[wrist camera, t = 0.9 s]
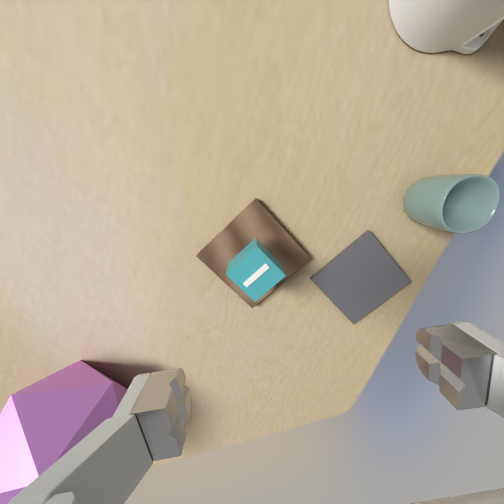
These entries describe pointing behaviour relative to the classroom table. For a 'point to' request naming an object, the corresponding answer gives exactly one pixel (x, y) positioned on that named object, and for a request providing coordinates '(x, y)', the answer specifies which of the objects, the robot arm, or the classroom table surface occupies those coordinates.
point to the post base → (241, 234)
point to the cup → (453, 201)
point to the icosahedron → (51, 422)
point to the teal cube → (255, 270)
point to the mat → (360, 278)
